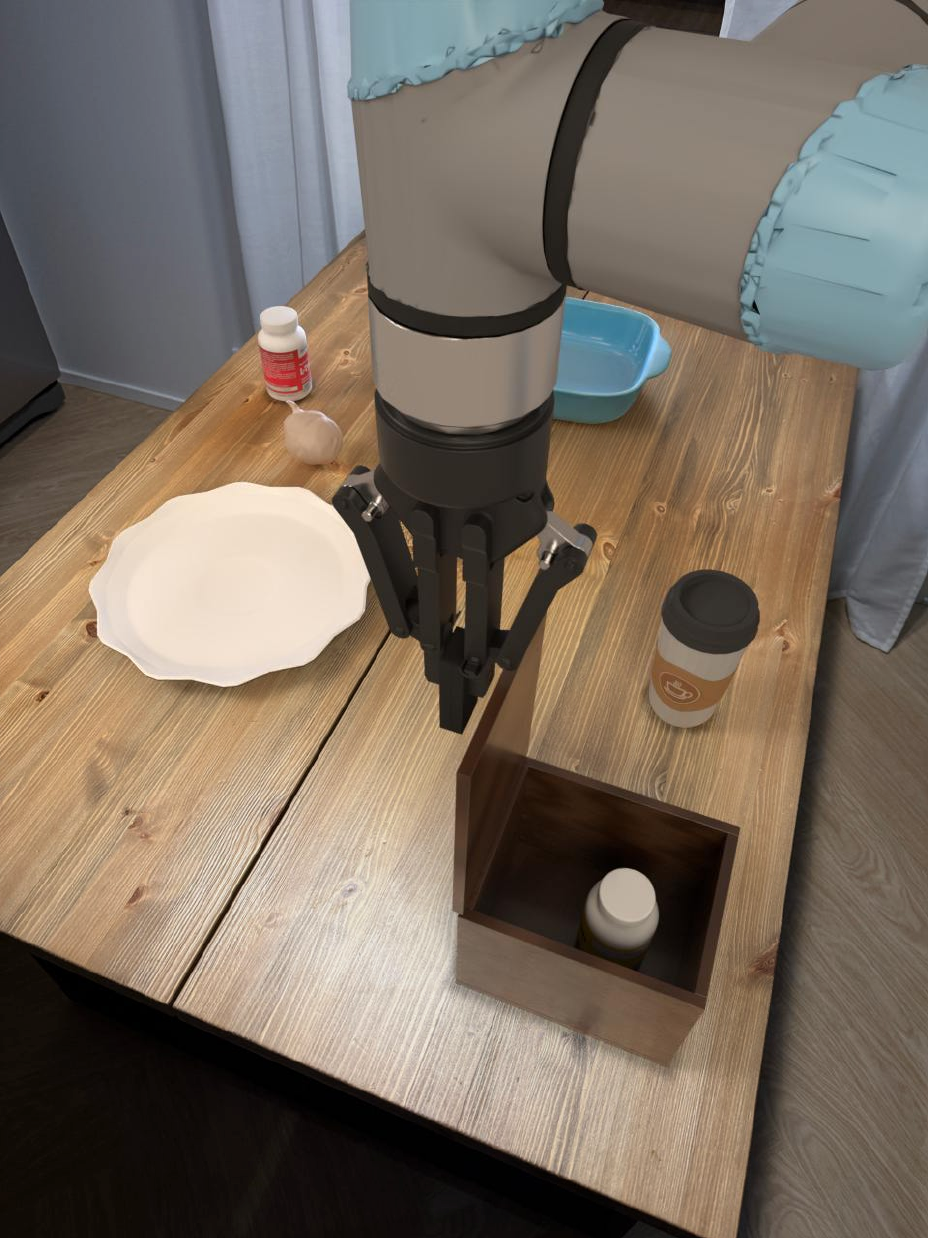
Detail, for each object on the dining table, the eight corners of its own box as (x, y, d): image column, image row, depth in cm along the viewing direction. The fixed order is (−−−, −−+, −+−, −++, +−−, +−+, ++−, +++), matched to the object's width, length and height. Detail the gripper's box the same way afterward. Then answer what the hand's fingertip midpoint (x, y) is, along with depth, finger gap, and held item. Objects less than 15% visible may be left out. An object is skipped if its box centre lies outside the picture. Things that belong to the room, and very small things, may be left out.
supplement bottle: (589, 902, 73) (606, 846, 65) (653, 931, 71) (677, 877, 64) (564, 961, 69) (578, 910, 62) (630, 993, 68) (653, 944, 61)
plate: (39, 605, 94) (31, 590, 92) (243, 465, 110) (240, 450, 108) (232, 749, 83) (227, 735, 81) (429, 571, 98) (429, 555, 96)
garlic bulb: (327, 437, 114) (321, 383, 108) (352, 463, 110) (347, 409, 104) (281, 454, 111) (271, 401, 105) (304, 482, 108) (296, 428, 102)
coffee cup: (622, 711, 86) (648, 608, 75) (661, 656, 91) (691, 551, 79) (701, 753, 83) (741, 653, 72) (737, 694, 88) (780, 591, 76)
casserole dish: (374, 397, 120) (370, 350, 114) (429, 315, 134) (428, 269, 128) (646, 453, 112) (656, 406, 107) (673, 360, 127) (684, 314, 121)
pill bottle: (312, 402, 119) (301, 327, 110) (265, 404, 118) (251, 328, 110) (313, 375, 123) (303, 301, 114) (268, 377, 122) (255, 302, 114)
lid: (549, 597, 54) (537, 593, 54) (470, 778, 46) (456, 773, 46) (527, 753, 67) (517, 749, 68) (463, 915, 59) (451, 911, 59)
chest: (702, 901, 74) (740, 827, 64) (666, 1067, 65) (704, 1010, 56) (512, 834, 77) (522, 754, 68) (455, 983, 69) (457, 916, 59)
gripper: (640, 369, 38) (578, 699, 55) (360, 307, 40) (386, 640, 58) (592, 476, 33) (541, 799, 51) (280, 397, 36) (335, 729, 54)
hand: (458, 714), depth 54 cm, fingers closed
